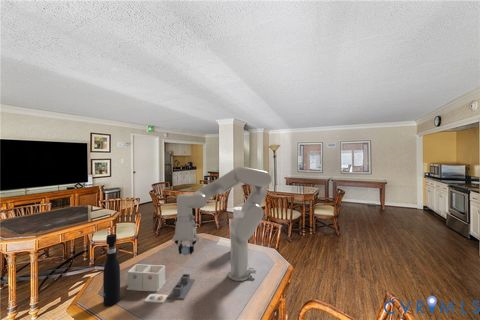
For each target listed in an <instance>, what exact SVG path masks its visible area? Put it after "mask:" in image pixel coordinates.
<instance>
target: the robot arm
mask: <svg viewBox="0 0 480 320" xmlns="http://www.w3.org/2000/svg"><path fill="white" fill-rule="evenodd" d="M271 183H272V175H271V174H270V173H269V172H268V171H265V170H259V169H256V168H255V169H254V168H251V167H247V166H237V167H235V168H233V169H231V170H230V171H229V172H227V173H225V174H222V176H220V177H218V178H217V179H215V180H212V182H209V183H208V184H206V185H204V186H202V187H201V188H199V189H197V190H196V191H194V193H193V194H190V193H181V194H178V195H177V196H176V213H177V214H176V216H177V217H176V218H177V221H176V222H175V226H174V227H175V230H174V235H173V237H172V238H171V241H173V242H174V243H175V245H177V248H178V255H182V252H181V249H182V247H183V246H184V245H183V242H189V246H190V254H189V255H192V254H193V253H194V251H195V245H196V243H197V242H198V241H200V239H201V238H200V236H199V235H198V234H197V228H196V222H195V218H196V216H195V215H194V214H193V209H203V208H204V207H206V205H207V203H208V200H209V199H211V198H213V197H214V196H216V195H220V194H225V193H227V192H229V191H231V190H232V189H233V188H235V187H236V186H238V185H239V184H246V185H250V186H252V190H251V192H250V194H249V195H248V197H247V198H246V200H245V202H244V203H243V204H242V206H241V207H242V209H241V211H242V214H243V215H244V216H243V217H235V218H233V217H232V219H231V220H230V223H229V237H230V239H229V240H230V269H229V270H228V273H227V276H228V278H229V279H230V280H232V281H235V282H243V281H247V280H249V279H250V278H251V276H252V275H253V274H257V269H255V268H254V267H251V266H250V264H249V257H248V256H249V247H248V246H249V243H248V241H249V240H250V238H252V236H253V234H255V232H256V230H257V228H258V227H259V226H260V223H261V222H262V219H263V217H264V210H263V208H262V204H264V202H265V199H266V197H267V194H268V193H267V192H268V186H270V185H271ZM251 274H252V275H251Z"/></svg>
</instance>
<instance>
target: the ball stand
mask: <svg viewBox="0 0 480 320" xmlns="http://www.w3.org/2000/svg"><path fill="white" fill-rule="evenodd" d="M190 276H191V275H190V274H189V273H183V274H182V275H181V277H180V279H178V281H177V283H176V284H175V285H174V286H173V288H172V289H171V291H170V293H169V294H167V295H168V297H167V298H166V299H169V300H185V298H186V297H187V296H188V293H189V292H190V289H192V287H193V285H194V283H195V281H196V279H194V278H193V279H191V277H190Z"/></svg>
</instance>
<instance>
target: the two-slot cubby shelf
mask: <svg viewBox="0 0 480 320" xmlns="http://www.w3.org/2000/svg"><path fill="white" fill-rule="evenodd" d="M165 283H167V280H166V265H162V264H159V265H158V264H144V263H143V264H141V263H136V264H134V266H133V267H132V268H130V269H129V270H128V271H127V287H126V290H128V291H139V292H140V291H141V292H143V291H144V292H156V293H157V292H159V291H161V289H162V287H164V285H165Z"/></svg>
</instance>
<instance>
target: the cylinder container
mask: <svg viewBox="0 0 480 320" xmlns="http://www.w3.org/2000/svg"><path fill="white" fill-rule="evenodd" d="M232 209H233V211H232V212H233V217H232V219H233V218H235V217H243V216H244V215H243V214H242V211H241V209H242V206H235V207H233V208H232Z"/></svg>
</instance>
